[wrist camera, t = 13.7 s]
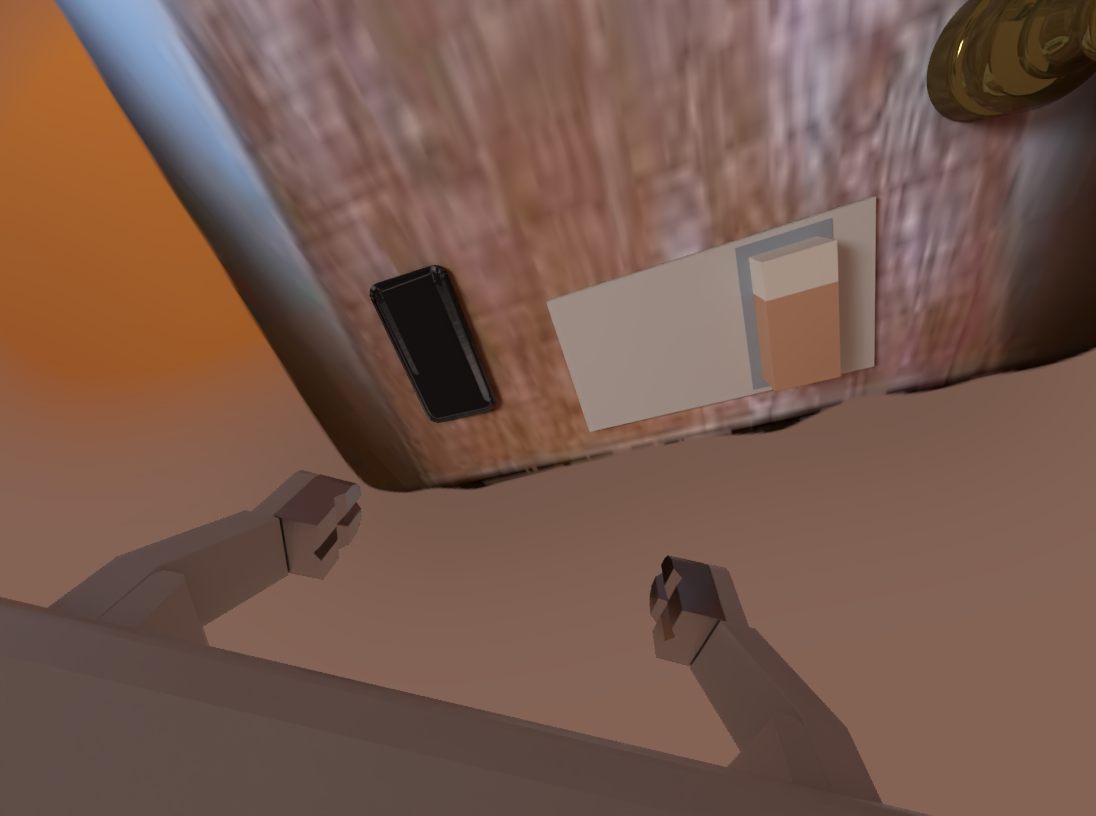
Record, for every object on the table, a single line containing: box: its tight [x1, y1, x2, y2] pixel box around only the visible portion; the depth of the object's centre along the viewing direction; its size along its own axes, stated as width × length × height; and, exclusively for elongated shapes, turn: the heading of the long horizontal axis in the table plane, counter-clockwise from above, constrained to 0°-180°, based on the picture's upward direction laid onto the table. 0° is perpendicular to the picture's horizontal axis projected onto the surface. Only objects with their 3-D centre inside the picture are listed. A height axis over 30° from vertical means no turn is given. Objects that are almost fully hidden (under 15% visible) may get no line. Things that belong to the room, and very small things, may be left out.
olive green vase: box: [927, 0, 1096, 121], centre depth 22 cm, size 7×7×10 cm
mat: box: [547, 197, 876, 432], centre depth 36 cm, size 14×26×1 cm, turn 109°
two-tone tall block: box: [749, 236, 841, 392], centre depth 33 cm, size 11×5×3 cm, turn 19°
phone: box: [370, 265, 496, 423], centre depth 40 cm, size 8×1×15 cm
